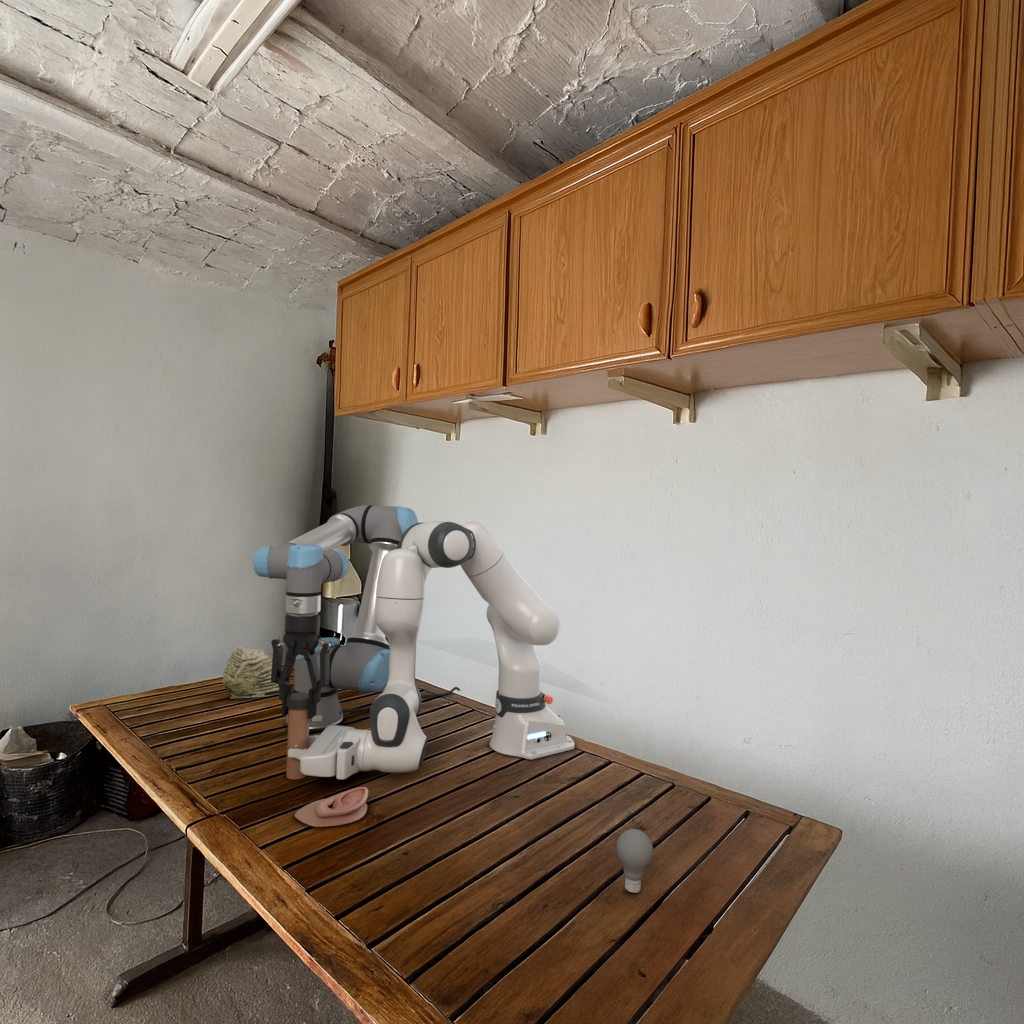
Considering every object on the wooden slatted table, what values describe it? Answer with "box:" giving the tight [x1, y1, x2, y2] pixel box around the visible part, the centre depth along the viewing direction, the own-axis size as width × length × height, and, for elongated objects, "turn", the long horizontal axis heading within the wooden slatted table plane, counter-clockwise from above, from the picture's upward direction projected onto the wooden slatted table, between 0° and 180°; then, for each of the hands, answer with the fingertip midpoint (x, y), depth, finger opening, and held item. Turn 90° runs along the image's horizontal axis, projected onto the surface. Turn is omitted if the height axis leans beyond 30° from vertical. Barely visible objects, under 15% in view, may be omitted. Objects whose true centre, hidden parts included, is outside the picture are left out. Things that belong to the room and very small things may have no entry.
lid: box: [286, 692, 309, 709], centre depth 143 cm, size 6×6×2 cm
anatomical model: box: [294, 786, 369, 828], centre depth 127 cm, size 13×4×12 cm
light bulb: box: [615, 828, 654, 894], centre depth 106 cm, size 6×6×10 cm
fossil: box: [222, 646, 279, 699], centre depth 198 cm, size 9×18×15 cm, turn 132°
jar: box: [285, 708, 310, 780], centre depth 143 cm, size 5×5×17 cm
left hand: (299, 715), depth 143 cm, fingers closed on lid, 5 cm apart
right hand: (293, 746), depth 143 cm, fingers closed on jar, 4 cm apart
